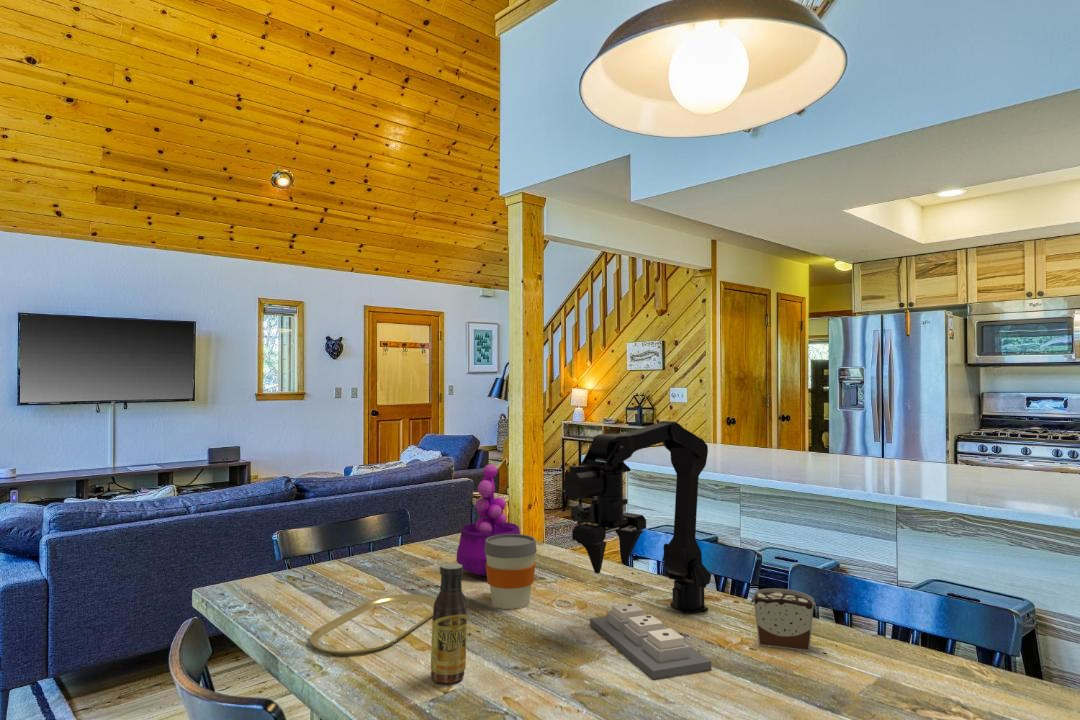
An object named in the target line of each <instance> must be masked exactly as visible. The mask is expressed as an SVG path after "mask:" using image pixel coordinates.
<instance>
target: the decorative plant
mask: <svg viewBox="0 0 1080 720" xmlns="http://www.w3.org/2000/svg"><path fill="white" fill-rule="evenodd" d="M482 472H483V475H484V476H485V477H483V478H482V480H480V482H479V484H477V485H478V486H477V492H478V494H479V495H480V496H481V497H482V498H481V497H480V498H479V499H477V500H476V501H475V506H474V507H475V509H476V510H477V513H478V515H479V516H480V517H479V519H478V520H476V522H473V523H469V524H465V525H463V526H462V527H461V531H460V536H459V537H460V539H459V543H458V547H457V551H456V561H455V562H457V564H461V565H462V566H463V571H466V572H468V573H471V574H473V575H478V576H483V577H484V576H486V577H487V573H486V562H487V559H486V554H485V553H484V550H485V540H486V539H487V538H489V537H491V536H495V535H503V534H521V532H520V527H519V525H518V524H515V523H512V522H507V519H508V518H507V515H506V514H505V513H503V510H505V508H506V506H507V504H506V500H505V499H504V498H503V497H495V491H496V489H495V488H496V487H495V486H496V485H495V481H494V477H495V478H496V476H497V474H498V469H497V466H496V465H494V464H491V463H490V464H486V465H485V466H484V468H483V471H482Z"/></svg>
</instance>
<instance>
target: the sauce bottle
mask: <svg viewBox="0 0 1080 720" xmlns="http://www.w3.org/2000/svg"><path fill="white" fill-rule="evenodd" d="M439 569H440V570H439V573H440V588H439V589H440V591H439V593H438V594H437V596H436V597H435V598H436V599H435V600H436V601H435V603H434V610H433V609H432V613H433V616H432V620H431V621H432V623H431V626H432V627H431V648H430V651H431V652H430V670H431V672H430V673H431V674H430V678H431V679H432V681H433V682H436V683H438V684H455V683H456V682H460V681H461V680H463V678H464V676H465V670H466V669H467V668H466V665H467V664H466V663H467V636H468V635H467V630H468V629H467V628H468V611H467V610H468V606H467V605H468V604H467V599H466V597H465V595H464V593H463V591H462V588H463V587H462V575H463V571H464V570H463V566H462V565H461V564H458V563H455V562H450V563H443V564H442V565H440V568H439ZM433 611H434V612H433Z"/></svg>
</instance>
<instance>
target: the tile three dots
mask: <svg viewBox="0 0 1080 720" xmlns="http://www.w3.org/2000/svg"><path fill="white" fill-rule="evenodd" d="M644 615H645V616H637V617H630V618H629V627H630V628H631V629H633V630H634V631H635V632H637V633H638V634H639V635H641V634H648V631H655V630H662V629H663V628H664V623H663V622H662V621H661V620H659V619H658V618H656V617H654V616H653V615H652V614H644Z"/></svg>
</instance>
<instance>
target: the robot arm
mask: <svg viewBox="0 0 1080 720" xmlns="http://www.w3.org/2000/svg"><path fill="white" fill-rule="evenodd" d="M661 443H662V444H663V445H662V446H664V448H665V449H666V450H668V451H669V453H670V462H671V463H670V464H671V465H672V467H673V470H674V471H675V474H676V482H675V483H676V484H675V485H676V486H675V503H674V520H673V536H672V538H671V539H670V541H669V542H668V543H664V544H663V547H662V548H663V557H662V560H661V561H662V562H663V566H664V569H665V570H666V573H667V576H668V579H669V580H673V587H672V596H671V597H672V602H670V606H671V607H673V608H674V609H676V610H677V611H679V612H681V613H682V614H691V613H692V614H694V613H699V612H707V611H709V607H707V606H705V587H707V585H710V583H711V579H712V574H711V573H710V571H709V570H708V569H707V568H706V567H705V565H704V564H703V559H702V557H703V556H702V555H703V554H702V550H701V548H700V546H699V544H698V541H697V539H696V533H697V532H696V530H697V511H698V494H699V493H698V491H699V478H700V477H699V476H700V475H701V474H702V471H703V470H704V468H705V467H706V465H707V460H708V453H709V447H708V444H707V443H706V442H705V440H703V438H700V437H698V436H697V435H696V434H695V433H693V432H691V431H689V430H687V429H686V428H684V427H683V426H682V425H681V424H680V423H678V422H677V421H671V420H670V421H669V420H662V421H658V422H657V423H655V424H650V425H648V426H644V427H641V428H638V429H634V430H631V431H628V432H625V433H624V432H623V433H604V434H601V433H600V434H597V435H595V436H594V437H593V438H592V441H591V444H590V446H589V448H588V450H587V452H586V454H585V456H584V457H583V460H582V462H581V463H580V465H579V466H578V465H570V467H569V472H567V474H566V475H565V477H564V481H563V490H564V493H565V495H566V496H567V497H568V500H571V501H577V500H583V499H589V498H591V499H592V500H590V503H591V505H590V506H586V507H584V506H583V505H582V504H576V505H574V506H573V505H572V506H571V507H570V517H571V520H572V522H574V523H575V522H577V525H575V526H574V527H573V528H572V530H571V540H572V541H576V543H577V544H580V545H582V546H583V547H584V548H585V551H586V552H587V554H588V558H589V560H590V563H591V566H592V569H593V572H594V573H595V574H600V573H601V570H602V566H603V562H604V557H605V552H606V546H607V542H606V541H604V540H605V539H606V535H607V534H609V533H611V532H615V534H617V536H618V539H619V552H620V561H621V564H624V565H626V564H627V563H628V562H629V559H630V556H631V555H632V552H633V550H634V548H635V546H636V544H637V542H638V540H639V538H640V536H641V534H643V532H644V531H643V530H645V529H647V519H646V518H645V516H644V515H643V514H637V513H631V512H624V505H628V498H624V473H627V472H631V467H629V466H628V465H627V464H626V463H625V461H626V460H628V459H629V458H631V457H633V456H632V455H633V454H634V453H635V452H637V451H640V450H643V449H645V448H648V447H652V446H655V445H657V444H661Z"/></svg>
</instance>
